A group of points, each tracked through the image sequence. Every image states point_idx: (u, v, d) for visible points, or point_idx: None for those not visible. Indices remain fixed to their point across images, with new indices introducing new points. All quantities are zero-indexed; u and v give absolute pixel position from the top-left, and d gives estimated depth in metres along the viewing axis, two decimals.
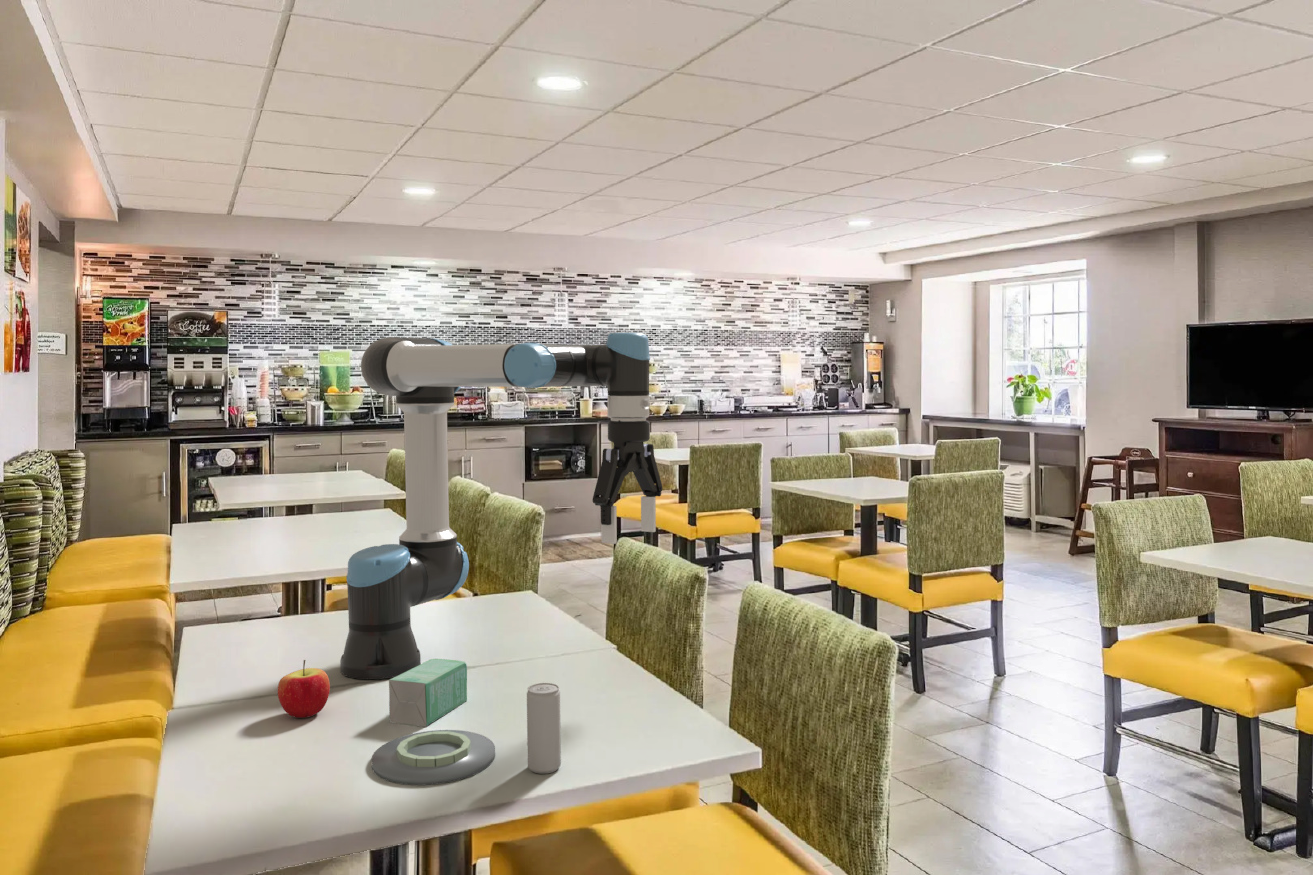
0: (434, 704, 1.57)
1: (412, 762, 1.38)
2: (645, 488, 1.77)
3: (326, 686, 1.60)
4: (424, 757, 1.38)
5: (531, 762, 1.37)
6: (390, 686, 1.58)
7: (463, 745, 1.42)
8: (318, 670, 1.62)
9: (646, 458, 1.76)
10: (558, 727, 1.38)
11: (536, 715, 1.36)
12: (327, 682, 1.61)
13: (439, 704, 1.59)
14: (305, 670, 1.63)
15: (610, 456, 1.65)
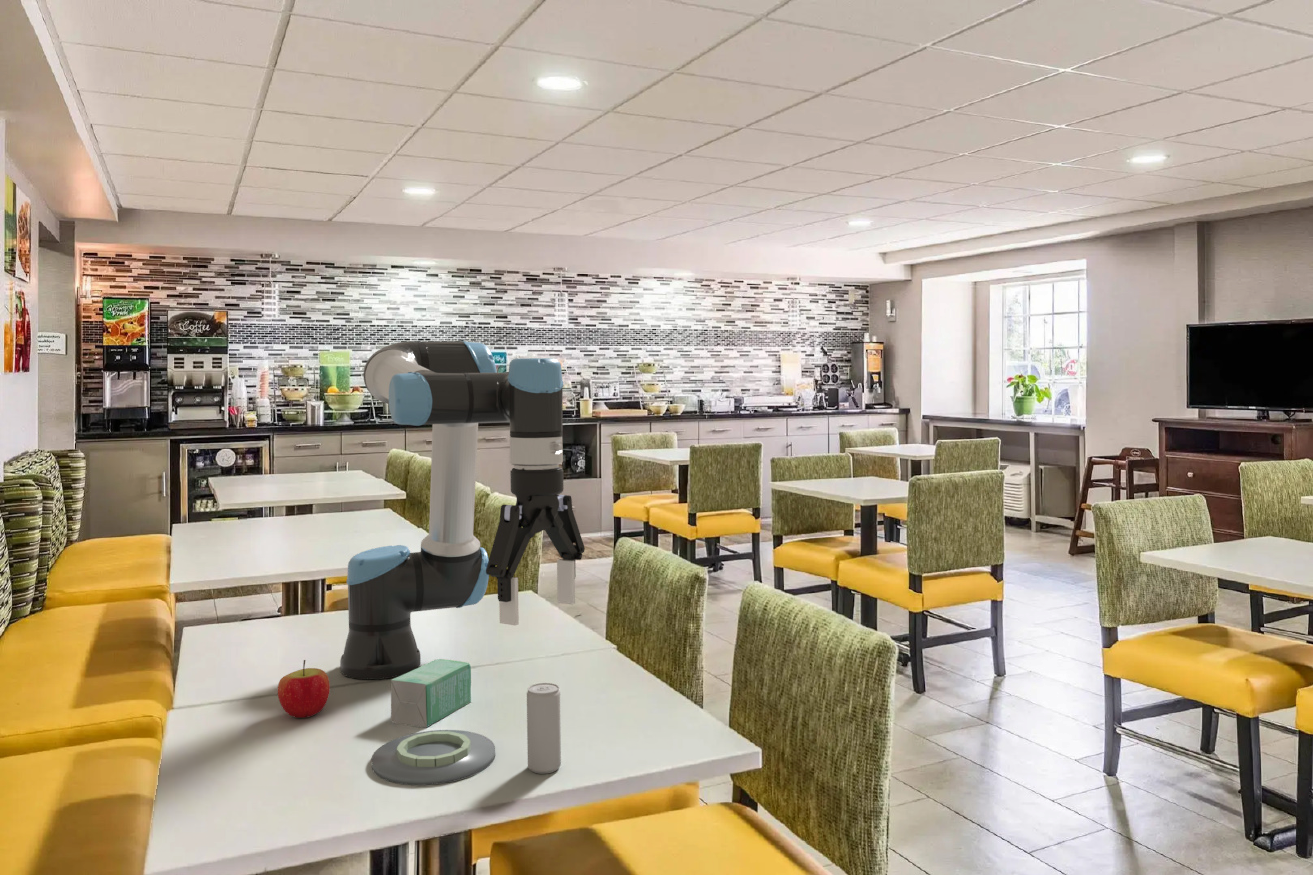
0: (435, 705, 1.57)
1: (412, 762, 1.38)
2: (562, 550, 1.42)
3: (326, 686, 1.60)
4: (424, 757, 1.38)
5: (531, 762, 1.37)
6: (392, 686, 1.57)
7: (463, 745, 1.42)
8: (318, 670, 1.62)
9: (562, 513, 1.42)
10: (558, 727, 1.38)
11: (536, 715, 1.36)
12: (327, 682, 1.61)
13: (441, 705, 1.59)
14: (305, 670, 1.63)
15: (509, 515, 1.30)
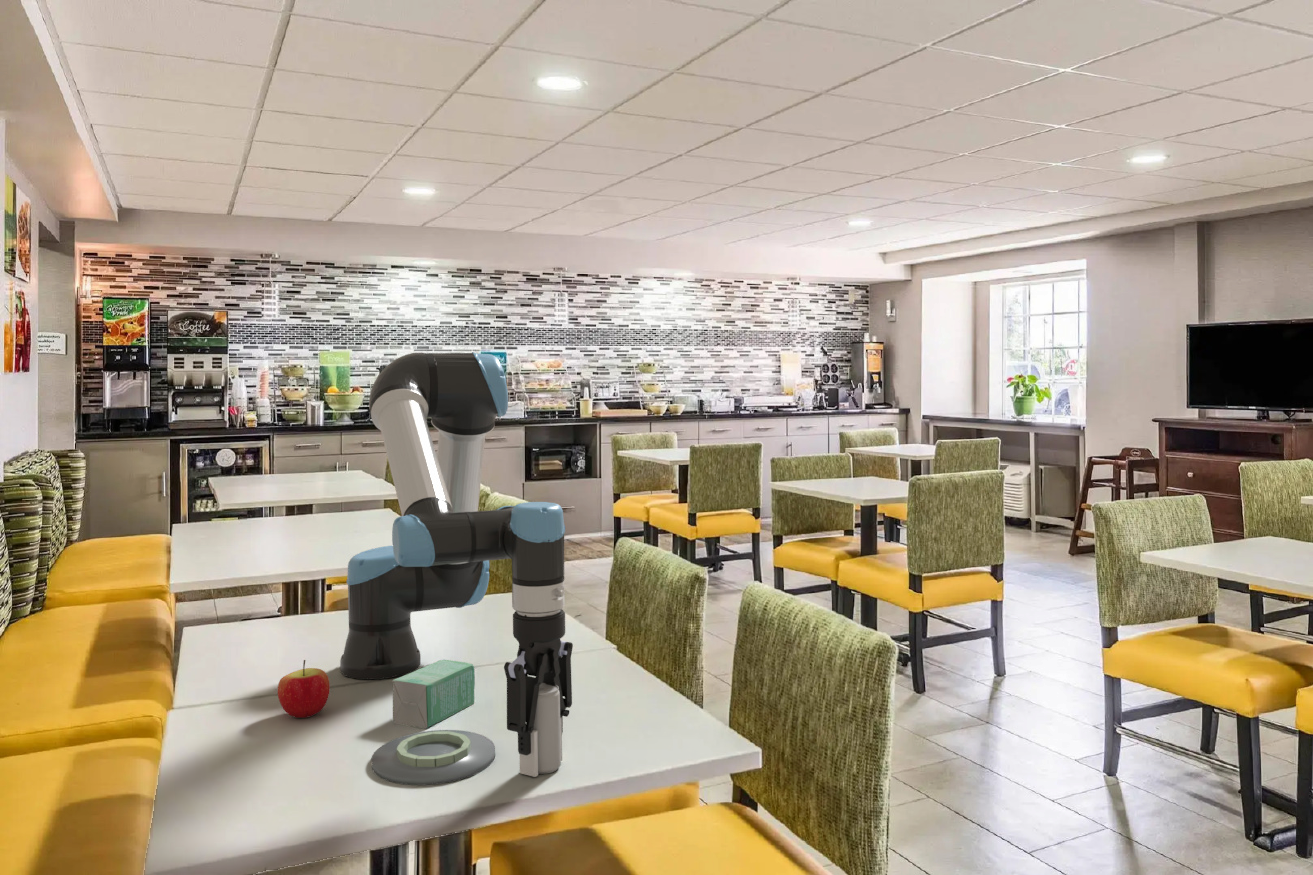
0: (436, 706, 1.57)
1: (412, 762, 1.38)
2: None
3: (326, 686, 1.60)
4: (424, 757, 1.38)
5: None
6: (394, 686, 1.57)
7: (463, 745, 1.42)
8: (318, 670, 1.62)
9: (560, 659, 1.42)
10: (558, 727, 1.38)
11: (536, 715, 1.36)
12: (327, 682, 1.61)
13: (442, 706, 1.58)
14: (305, 670, 1.62)
15: (514, 675, 1.32)
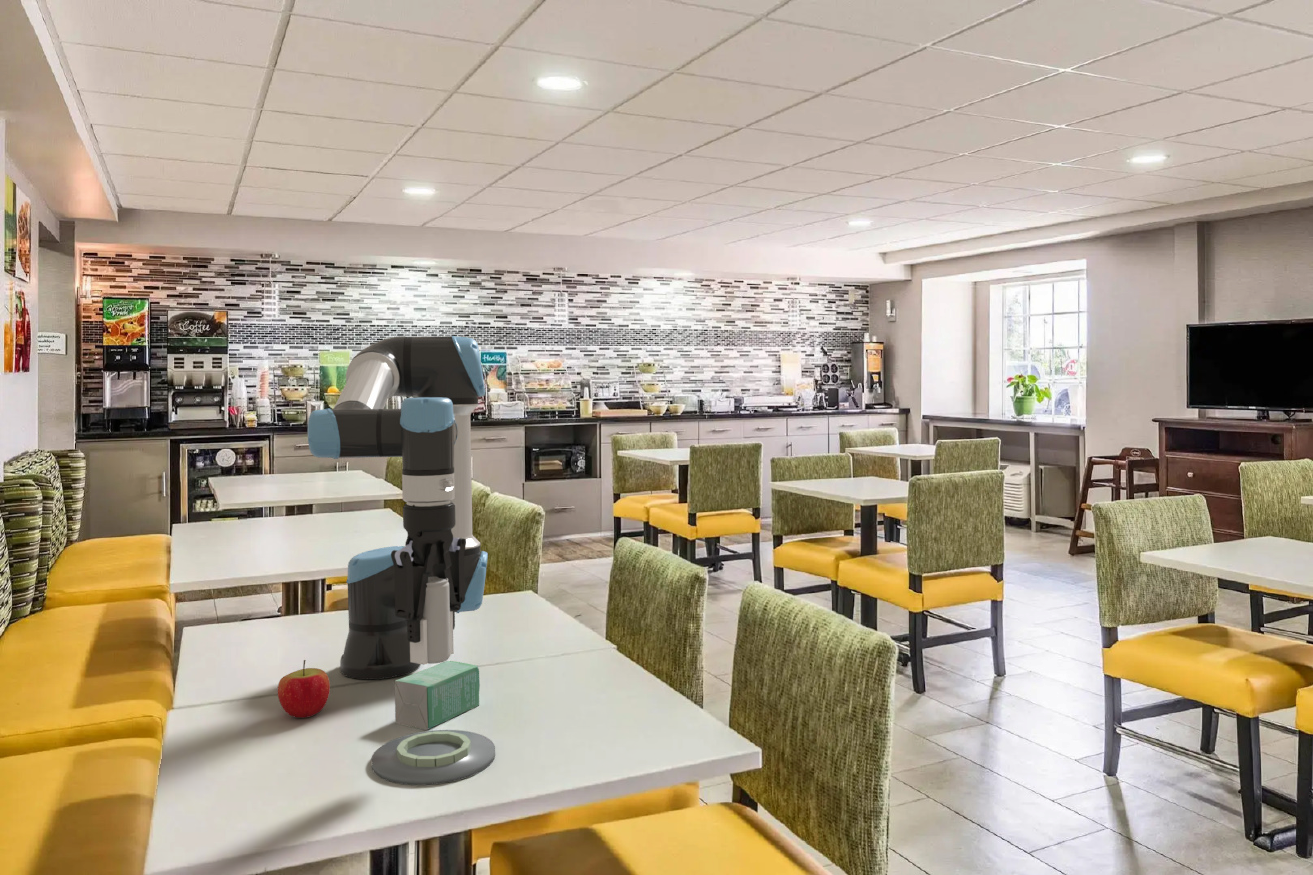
0: (437, 708, 1.56)
1: (412, 762, 1.38)
2: None
3: (326, 686, 1.60)
4: (424, 757, 1.38)
5: None
6: (396, 686, 1.57)
7: (463, 745, 1.42)
8: (318, 670, 1.62)
9: (453, 554, 1.45)
10: (446, 618, 1.40)
11: (424, 605, 1.39)
12: (327, 682, 1.61)
13: (444, 707, 1.57)
14: (305, 670, 1.63)
15: (401, 562, 1.35)
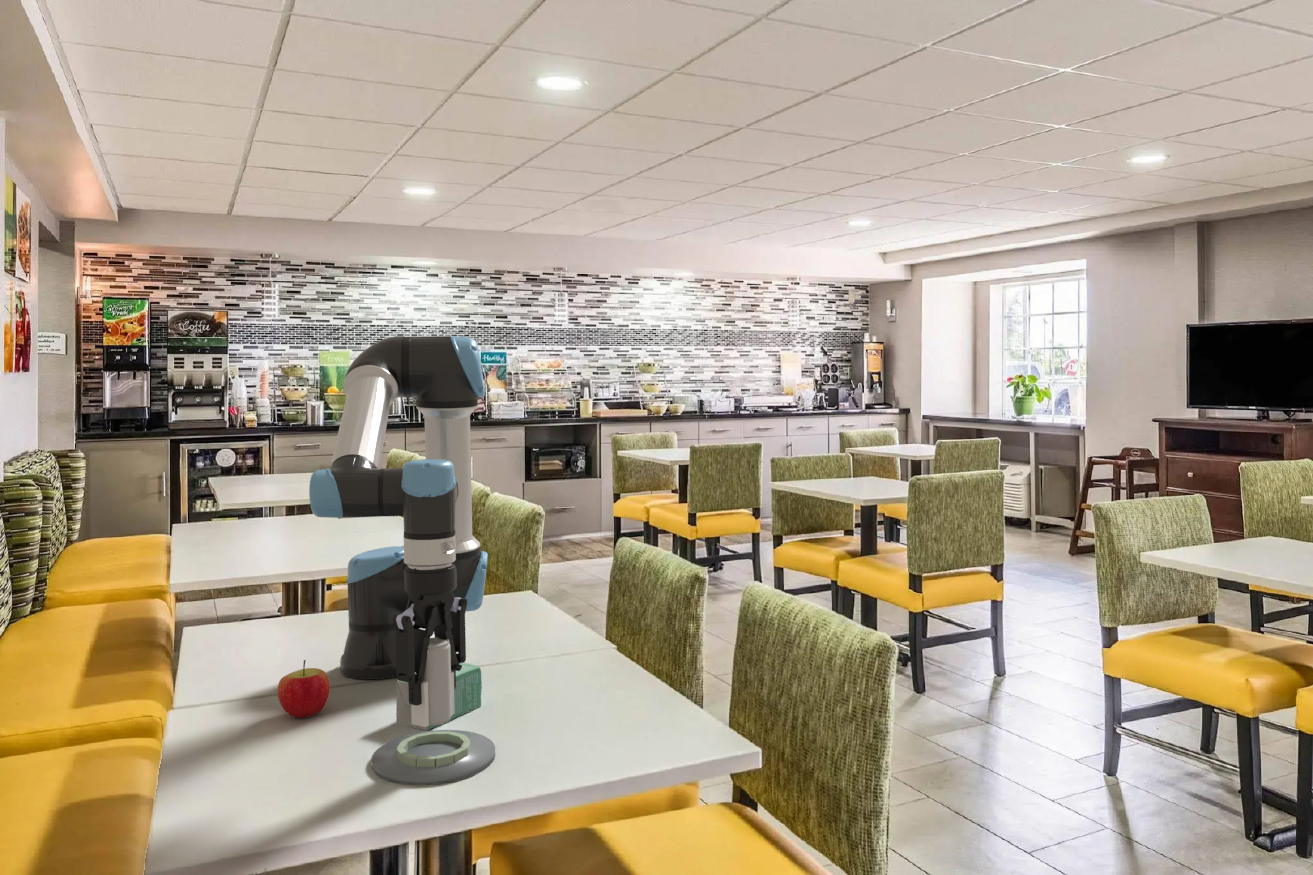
0: None
1: (412, 762, 1.38)
2: None
3: (326, 686, 1.60)
4: (424, 757, 1.38)
5: None
6: (397, 687, 1.57)
7: (463, 745, 1.42)
8: (318, 670, 1.62)
9: (454, 614, 1.45)
10: (448, 680, 1.41)
11: None
12: (327, 682, 1.61)
13: None
14: (305, 670, 1.63)
15: (402, 626, 1.35)
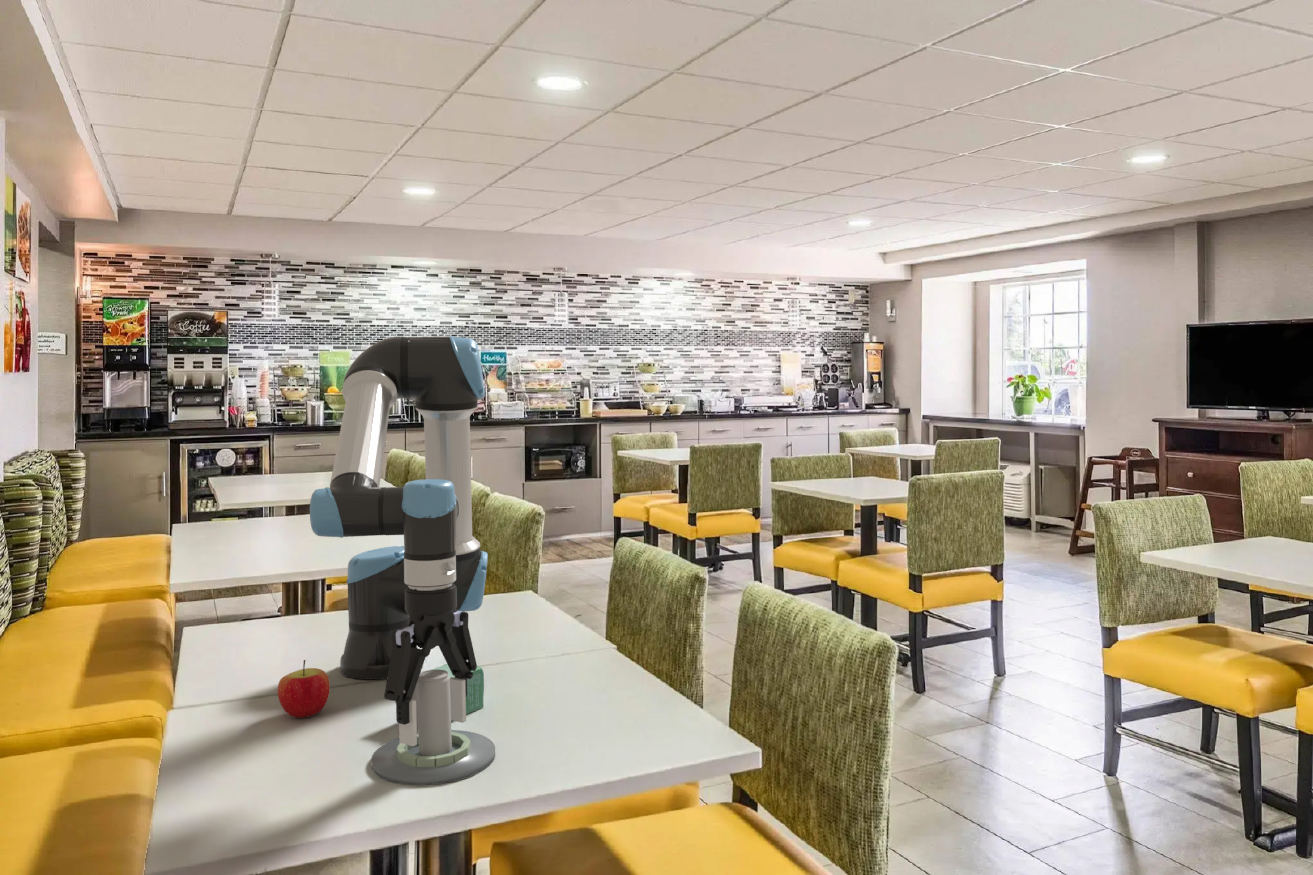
0: None
1: (412, 762, 1.38)
2: (453, 667, 1.46)
3: (326, 686, 1.60)
4: (424, 757, 1.38)
5: (421, 747, 1.41)
6: None
7: (463, 745, 1.42)
8: (318, 670, 1.62)
9: (458, 629, 1.46)
10: (447, 712, 1.41)
11: (425, 700, 1.40)
12: (327, 682, 1.61)
13: None
14: (305, 670, 1.63)
15: (400, 641, 1.35)
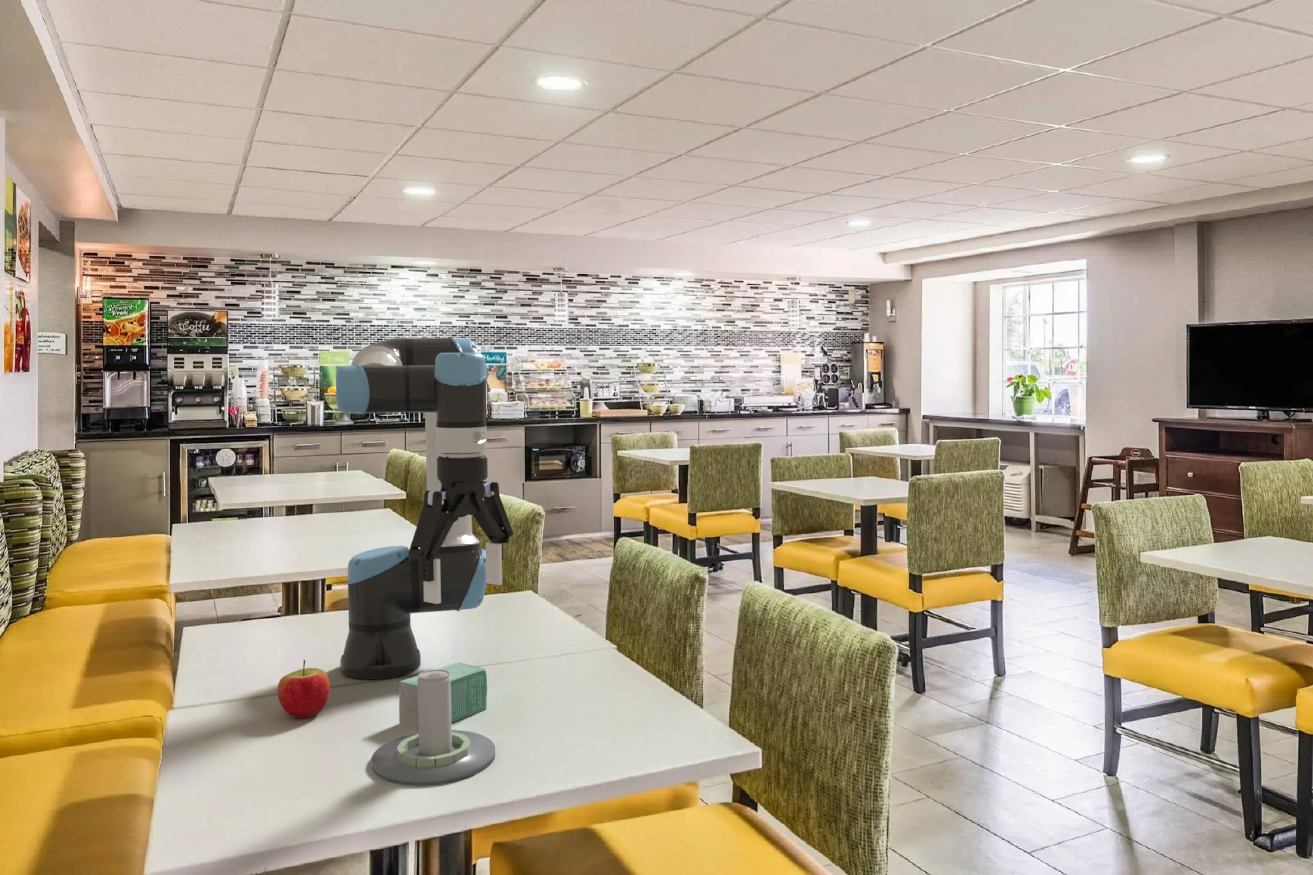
0: None
1: (412, 762, 1.38)
2: (489, 533, 1.51)
3: (326, 686, 1.60)
4: (424, 757, 1.38)
5: (421, 747, 1.41)
6: (400, 687, 1.57)
7: (463, 745, 1.42)
8: (318, 670, 1.62)
9: (490, 498, 1.50)
10: (448, 712, 1.41)
11: (425, 700, 1.40)
12: (327, 682, 1.61)
13: None
14: (305, 670, 1.62)
15: (432, 500, 1.39)
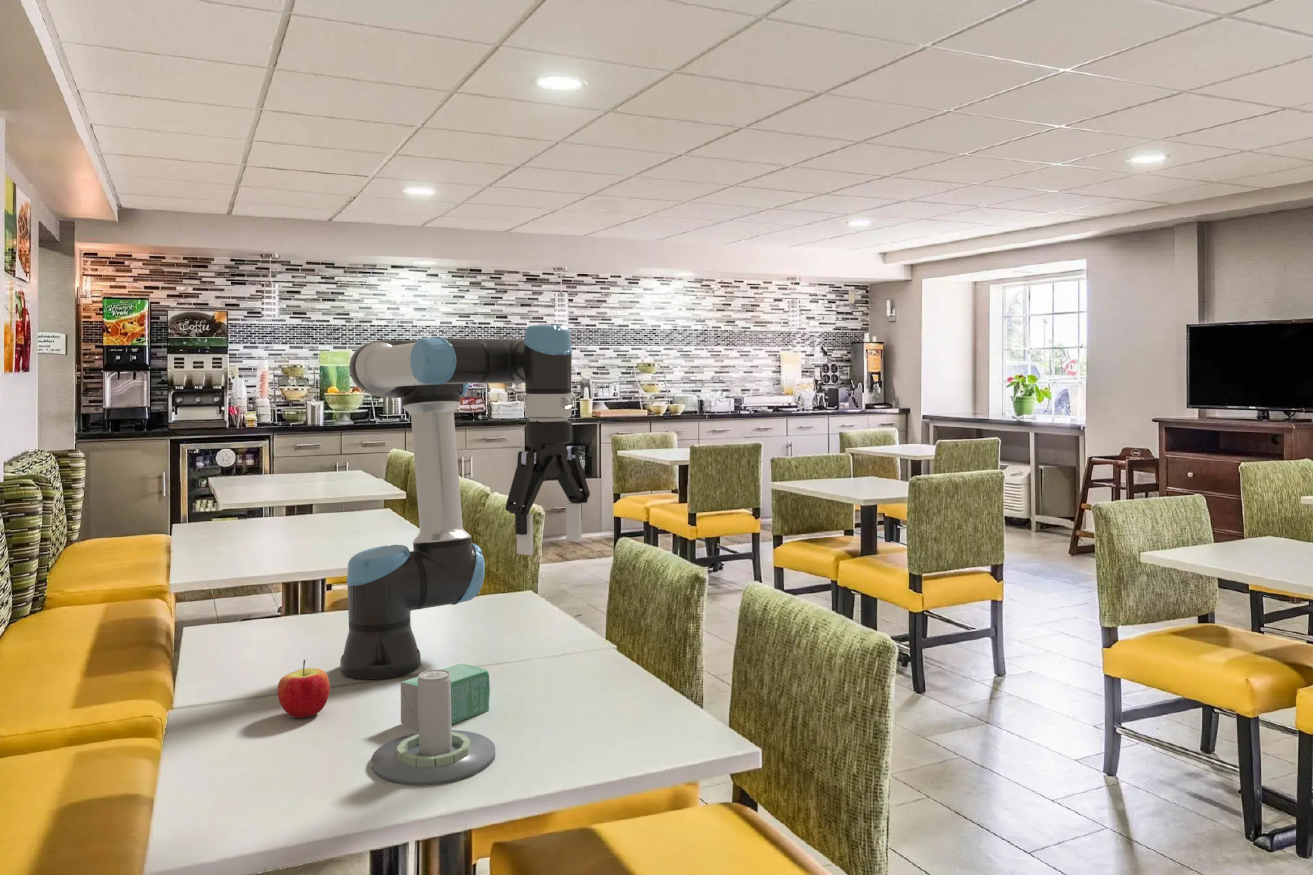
0: None
1: (412, 762, 1.38)
2: (570, 494, 1.63)
3: (325, 686, 1.60)
4: (424, 757, 1.38)
5: (421, 747, 1.41)
6: (401, 688, 1.56)
7: (463, 745, 1.42)
8: (318, 670, 1.62)
9: (570, 461, 1.62)
10: (448, 712, 1.41)
11: (425, 700, 1.40)
12: (327, 682, 1.61)
13: None
14: (305, 670, 1.63)
15: (525, 460, 1.51)
